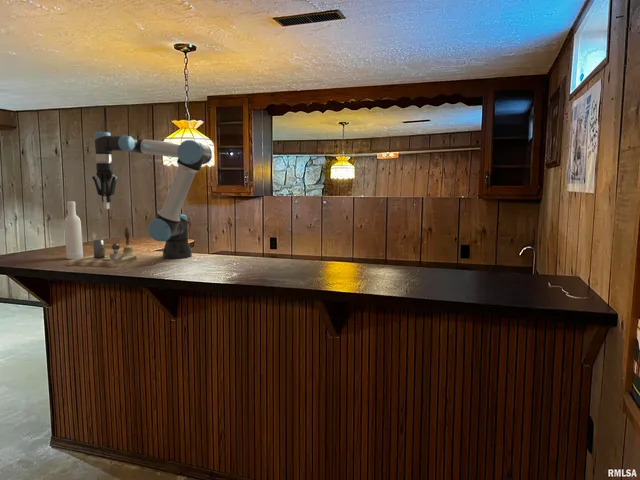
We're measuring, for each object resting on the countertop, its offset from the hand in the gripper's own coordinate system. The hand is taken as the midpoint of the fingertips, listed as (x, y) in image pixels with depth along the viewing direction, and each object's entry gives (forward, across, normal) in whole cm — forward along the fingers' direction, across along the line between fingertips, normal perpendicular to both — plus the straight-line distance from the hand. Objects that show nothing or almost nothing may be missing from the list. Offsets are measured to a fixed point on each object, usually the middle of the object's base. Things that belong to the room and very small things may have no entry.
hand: (106, 208), depth 235 cm
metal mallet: (+24, -5, +10) cm, 27 cm away
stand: (+26, -3, +11) cm, 29 cm away
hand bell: (+27, -6, -8) cm, 29 cm away
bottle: (+27, +19, +1) cm, 33 cm away
